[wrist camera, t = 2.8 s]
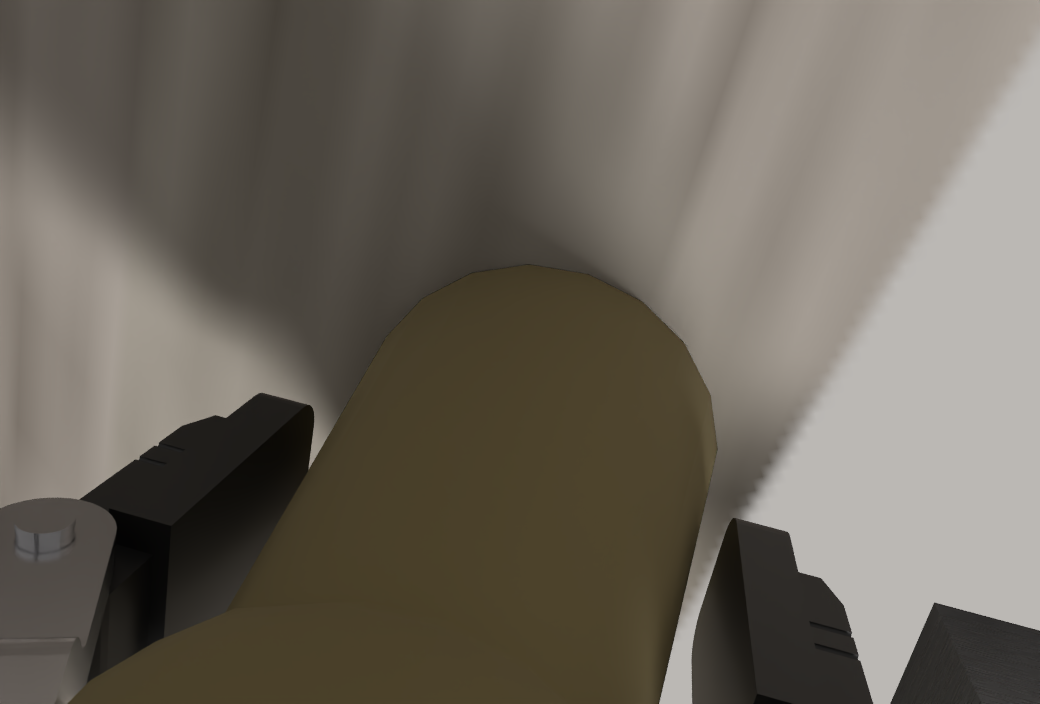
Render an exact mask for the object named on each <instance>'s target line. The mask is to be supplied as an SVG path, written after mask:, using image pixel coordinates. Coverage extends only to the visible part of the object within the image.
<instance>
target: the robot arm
mask: <svg viewBox="0 0 1040 704" xmlns="http://www.w3.org/2000/svg"><path fill="white" fill-rule="evenodd" d="M313 428H314V411H313V408H312V407H311V406H310V405H307V404H303V403H299V402H295V401H291V400H287V399H284V398H280V397H276V396H272V395H268V394H265V393H259V394H257V395H256V396H254V397H253V398H252V399H250V400H249V401H248V402H246V403H245V404H244V405H243V406H241V407H240V408H239V409H237V410H236V411H235V412H233V413H232V414H231V415H230V416H228V417H227V418H224V417H220V416H216V415H215V416H212V417H209V418H206V419H203V420H199V421H196V422H193V423H190V424H187V425H184V426H181V427H180V428H179V429H177V430H176V431H174V432H173V433H172V434H170V435H169V436H167V437H166V438H165V439H163V440H162V441H160V442H159V445H158V446H153V447H152V448H151V449H149V450H148V451H147V452H145V453H144V454H142V455H141V456H140V459H139V460H134V461H133V462H131V463H130V464H128V465H127V466H126V467H124V468H123V469H121V470H120V471H119V472H117V473H116V474H114V475H113V476H112V477H110V478H109V479H107V480H106V481H105V482H103V483H102V484H100V485H99V486H98V487H96V488H95V489H94V490H92V491H91V492H89V493H88V494H87V495H85V496H84V497H82V498H81V499H80V500H77V499H71V498H39V499H32V500H26V501H21V502H18V503H14V504H10V505H8V506H5V507H2V508H0V704H67V703H68V702H69V701H70V700H71V699H72V698H73V697H74V696H75V695H76V694H77V693H78V692H79V691H80V690H81V689H82V688H83V687H84V686H85V685H86V684H87V683H88V682H89V681H90V680H92V679H93V678H95V677H97V676H99V675H100V674H102V673H104V672H105V671H107V670H109V669H110V668H112V667H114V666H115V665H117V664H119V663H120V662H122V661H124V660H125V659H127V658H129V657H130V656H132V655H134V654H135V653H137V652H139V651H140V650H142V649H144V648H146V647H147V646H149V645H151V644H152V643H154V642H156V641H158V640H160V639H163V638H165V637H168V636H170V635H172V634H175V633H177V632H180V631H182V630H184V629H187V628H189V627H192V626H194V625H196V624H199V623H201V622H204V621H206V620H208V619H211V618H213V617H216V616H218V615H220V614H223V613H225V612H226V611H227V609H228V607H229V605H230V604H231V602H232V600H233V599H234V597H235V595H236V593H237V592H238V590H239V588H240V587H241V585H242V583H243V581H244V580H245V578H246V576H247V575H248V573H249V571H250V570H251V568H252V566H253V564H254V563H255V561H256V559H257V558H258V556H259V554H260V552H261V551H262V549H263V547H264V546H265V544H266V542H267V540H268V539H269V537H270V535H271V534H272V532H273V530H274V528H275V527H276V525H277V523H278V522H279V520H280V518H281V516H282V515H283V513H284V511H285V510H286V508H287V506H288V505H289V503H290V501H291V499H292V498H293V496H294V494H295V493H296V491H297V489H298V487H299V486H300V484H301V482H302V481H303V479H304V477H305V475H306V474H307V472H308V467H309V459H310V451H311V444H312V436H313ZM851 634H852V632H851V628H850V625H849V622H848V618H847V615H846V612H845V608H844V605H843V604H842V603H841V602H840V601H839V599H838V598H837V597H836V596H835V595H834V593H833V592H832V591H831V590H830V589H829V587H828V586H827V585H826V584H825V583H824V581H823V580H822V579H821V578H818V577H814V576H810V575H807V574H803V573H799V572H798V569H797V565H796V561H795V556H794V552H793V548H792V543H791V539H790V535H789V533H788V532H785V531H782V530H778V529H774V528H771V527H767V526H763V525H759V524H755V523H752V522H748V521H744V520H740V519H736V518H733V519H732V520H731V522H730V523H729V525H728V528H727V530H726V533H725V536H724V539H723V542H722V545H721V548H720V551H719V554H718V557H717V561H716V564H715V567H714V570H713V573H712V576H711V579H710V582H709V585H708V588H707V591H706V595H705V598H704V601H703V604H702V607H701V610H700V613H699V617H698V621H697V625H696V630H695V635H694V641H693V648H692V703H693V704H873V702H872V699H871V695H870V692H869V688H868V685H867V682H866V678H865V675H864V672H863V668H862V665H861V662H860V661H859V660H858V652H857V649H856V645H855V642H854V638H851Z"/></svg>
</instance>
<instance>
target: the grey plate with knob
mask: <svg viewBox="0 0 1040 704" xmlns="http://www.w3.org/2000/svg"><path fill="white" fill-rule="evenodd" d="M891 704H1040V631H1039V630H1035V629H1031V628H1027V627H1024V626H1020V625H1016V624H1012V623H1009V622H1005V621H1001V620H997V619H994V618H990V617H986V616H982V615H978V614H975V613H971V612H967V611H963V610H960V609H956V608H953V607H949V606H945V605H941V604H937V603H934V605H933V607H932V610H931V612H930V614H929V616H928V618H927V621H926V623H925V626H924V628H923V630H922V632H921V634H920V637H919V639H918V641H917V644H916V646H915V648H914V651H913V653H912V655H911V657H910V660H909V662H908V664H907V667H906V669H905V671H904V674H903V676H902V678H901V680H900V683H899V685H898V687H897V690H896V692H895V695H894V696H893V699H892V701H891Z"/></svg>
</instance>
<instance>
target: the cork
mask: <svg viewBox="0 0 1040 704" xmlns="http://www.w3.org/2000/svg"><path fill="white" fill-rule="evenodd" d="M716 453H717V442H716V434H715V426H714V419H713V411H712V403H711V396H710V393H709V391H708V389H707V387H706V385H705V383H704V381H703V379H702V377H701V375H700V373H699V371H698V369H697V367H696V365H695V363H694V362H693V360H692V358H691V356H690V354H689V352H688V350H687V348H686V346H685V344H684V343H683V342H682V341H681V340H680V339H679V338H678V337H677V336H676V335H675V334H674V333H673V332H672V331H671V330H670V329H669V328H668V327H667V326H666V325H665V324H664V323H663V322H662V321H661V320H660V319H659V318H658V317H657V316H656V315H655V314H654V313H653V312H652V311H651V310H650V309H649V308H648V307H647V306H646V305H645V304H644V303H643V302H641V301H640V300H638V299H636V298H634V297H632V296H630V295H628V294H626V293H624V292H622V291H620V290H618V289H616V288H614V287H612V286H610V285H608V284H606V283H604V282H602V281H600V280H598V279H596V278H594V277H592V276H590V275H589V274H583V273H577V272H571V271H565V270H559V269H553V268H547V267H541V266H535V265H522V266H516V267H509V268H502V269H496V270H489V271H482V272H475V273H471V274H469V275H467V276H465V277H463V278H461V279H459V280H457V281H455V282H453V283H451V284H449V285H448V286H446V287H444V288H442V289H440V290H438V291H436V292H434V293H432V294H430V295H428V296H426V297H424V298H423V299H422V300H421V301H420V302H419V303H418V304H417V305H416V306H415V307H414V308H413V309H412V310H411V311H410V312H409V313H408V314H407V315H406V317H405V318H404V319H403V320H402V321H401V322H400V323H399V324H398V325H397V326H396V327H395V328H394V329H393V330H392V331H391V332H390V333H389V335H388V336H387V337H386V339H385V340H384V342H383V344H382V345H381V347H380V349H379V351H378V352H377V354H376V356H375V357H374V359H373V361H372V362H371V364H370V366H369V368H368V369H367V371H366V373H365V374H364V376H363V378H362V380H361V381H360V383H359V385H358V386H357V388H356V390H355V392H354V393H353V395H352V397H351V398H350V400H349V402H348V404H347V405H346V407H345V409H344V410H343V412H342V414H341V416H340V417H339V419H338V421H337V422H336V424H335V426H334V428H333V429H332V431H331V433H330V434H329V436H328V438H327V439H326V441H325V443H324V445H323V446H322V448H321V450H320V451H319V453H318V455H317V457H316V458H315V460H314V462H313V463H312V465H311V467H310V469H309V470H308V472H307V474H306V475H305V477H304V479H303V481H302V482H301V484H300V486H299V487H298V489H297V491H296V493H295V494H294V496H293V498H292V499H291V501H290V503H289V505H288V506H287V508H286V510H285V511H284V513H283V515H282V516H281V518H280V520H279V522H278V523H277V525H276V527H275V528H274V530H273V532H272V534H271V535H270V537H269V539H268V540H267V542H266V544H265V546H264V547H263V549H262V551H261V552H260V554H259V556H258V558H257V559H256V561H255V563H254V564H253V566H252V568H251V570H250V571H249V573H248V575H247V576H246V578H245V580H244V581H243V583H242V585H241V587H240V588H239V590H238V592H237V593H236V595H235V597H234V599H233V600H232V602H231V604H230V605H229V607H228V609H227V611H226V612H225V613H223V614H220V615H218V616H216V617H213V618H211V619H208V620H206V621H204V622H201V623H199V624H196V625H194V626H192V627H189V628H187V629H184V630H182V631H180V632H177V633H175V634H172V635H170V636H168V637H165V638H163V639H160V640H158V641H156V642H154V643H152V644H151V645H149V646H147V647H146V648H144V649H142V650H140V651H139V652H137V653H135V654H134V655H132V656H130V657H129V658H127V659H125V660H124V661H122V662H120V663H119V664H117V665H115V666H114V667H112V668H110V669H109V670H107V671H105V672H104V673H102V674H100V675H99V676H97V677H95V678H93V679H92V680H90V681H89V682H88V683H87V684H86V685H85V686H84V687H83V688H82V689H81V690H80V691H79V692H78V693H77V694H76V695H75V696H74V697H73V698H72V699H71V700H70V701H69V702H68V703H67V704H659V701H660V697H661V693H662V688H663V684H664V680H665V676H666V671H667V667H668V663H669V658H670V654H671V650H672V645H673V641H674V637H675V632H676V628H677V624H678V619H679V615H680V611H681V606H682V602H683V598H684V593H685V589H686V585H687V580H688V576H689V572H690V567H691V563H692V559H693V554H694V550H695V546H696V541H697V537H698V533H699V528H700V524H701V520H702V515H703V511H704V507H705V502H706V498H707V494H708V489H709V485H710V480H711V476H712V471H713V467H714V462H715V458H716Z"/></svg>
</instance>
